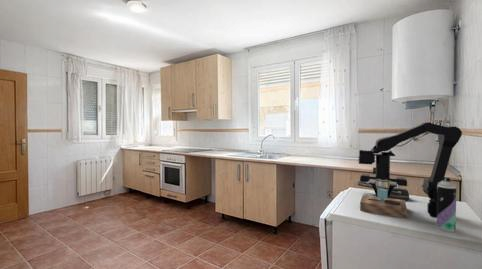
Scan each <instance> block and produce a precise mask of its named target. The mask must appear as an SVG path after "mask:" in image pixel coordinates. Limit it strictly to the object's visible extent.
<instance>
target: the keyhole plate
mask: <svg viewBox="0 0 482 269" xmlns="http://www.w3.org/2000/svg"><path fill="white" fill-rule="evenodd" d="M359 203H360V204H359V205H360V206H359V210H360V211H362V212H368V213H373V214H380V215H387V216H391V217H399V218H405V219H407V218H408V207H407V203H406V201H405V200H399V199H391V198H387V199H384V202H380V198H377V197H376V195H375V196H374V195H368V194H367V195H366V194H362V196H361V199H360V202H359Z"/></svg>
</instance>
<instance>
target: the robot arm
mask: <svg viewBox="0 0 482 269" xmlns="http://www.w3.org/2000/svg"><path fill="white" fill-rule="evenodd" d="M427 132H428V133H431V134H435V135H438V136H437V140H438V148H437V153H436V155H435V159H434V163H433V167H432V169H431V174H430V175H429V178H427V179H426V178H423V183H422V185H421V188H422V191H423V192H424V194H426V196H427V197H428V202H427V210H426V212H427V213H428V214H429V216H430V217H435V218H437V184H438V182H441V181H442V180H443V179H444V177H445V176H446V173H447V168H448V165H449V162H450V158H451V156H452V153H453V152H452V151H453V149H454V148H455V146H456V145H457V144H458V143H459V141H460V140H461V137H462V135H463V132H462V130H461V128H459V127H458V126H451V125H449V126H447V125H445V126H444V125H440V124H435V123H432V122H422V123H420V124H419V125H415V126H413V127H411V128H408V129H407V130H404V131H401V132H399V133H396V134H394V135H390V136H389V135H388V136H385V137H382V138H381V137H379V138H378V139H377V140H375V144H374V146H373V147H372V148H371V150H366V149H365V150H364V149H359V150H358V157H357V158H358V161H357V162H358V164H359V165H373V164H374V163H375V167H372V174H373V175H375V176H370V175H371V174H367V173H361V174H360V176H359V181H361V182H366V183H369V184H371V185H372V187H373V191H374V193H375V194H374V195H375V196H376V197H377V182H382V183H383V182H385V183H388V187H387V188H388V194H387V198H389V196H390V193H391V191H392V190H393V188H398V186H401V187H407V186H408V180H407V178H406V177H402V176H401V177H399V176H396V178H391V157H395V156H396V154H395V153H393V151H392V150H391V149H393V148H395V147H396V146H397V145H399V144H401V143H402V142H406V141H408V140H410V139H413V138H415V137H417V136H419V135H422V134H426V133H427Z"/></svg>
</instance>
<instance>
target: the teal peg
mask: <svg viewBox="0 0 482 269" xmlns="http://www.w3.org/2000/svg"><path fill="white" fill-rule="evenodd" d="M387 192H388V191H387V189H379V188H378V190H377V198H380V202H384V199H387Z"/></svg>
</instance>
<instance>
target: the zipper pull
mask: <svg viewBox="0 0 482 269" xmlns="http://www.w3.org/2000/svg"><path fill="white" fill-rule="evenodd" d="M356 185H357V186H359V187H364V188H369V189H373V187H372V185H371V184H369V182H361V181H360V180H359V181H357V182H356ZM376 185H377V184H376ZM378 188H379V189H387V191H388V188H389V187H386V186H382V185H377V190H378ZM373 190H374V189H373ZM387 194H388V192H387ZM389 198H391V199H399V200H405V202H408V201H410V193H409V190H407V189H406V188H402V187H401V188H400V187H394V188H393V190H392V191H391V193H390V196H389Z"/></svg>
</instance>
